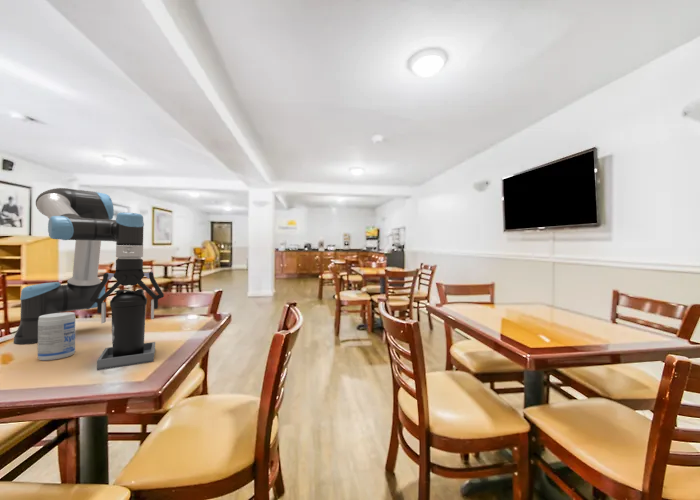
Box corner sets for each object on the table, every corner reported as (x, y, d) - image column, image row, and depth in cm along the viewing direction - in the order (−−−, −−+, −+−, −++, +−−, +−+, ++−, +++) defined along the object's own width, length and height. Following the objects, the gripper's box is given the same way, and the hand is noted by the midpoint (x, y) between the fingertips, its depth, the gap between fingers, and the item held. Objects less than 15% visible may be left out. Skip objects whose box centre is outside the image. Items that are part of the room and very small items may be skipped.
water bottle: (114, 354, 106) (115, 288, 107) (149, 351, 110) (149, 287, 111) (105, 364, 97) (105, 292, 97) (143, 360, 101) (143, 290, 101)
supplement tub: (72, 358, 105) (72, 315, 105) (33, 363, 100) (33, 318, 100) (77, 350, 113) (78, 310, 113) (42, 355, 108) (42, 313, 108)
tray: (105, 356, 106) (105, 347, 106) (155, 349, 114) (155, 341, 114) (96, 370, 94) (97, 360, 94) (153, 361, 101) (153, 352, 101)
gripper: (79, 258, 95) (78, 326, 95) (171, 258, 107) (171, 318, 107) (84, 258, 101) (83, 322, 101) (171, 257, 114) (171, 314, 114)
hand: (128, 320), depth 104 cm, fingers open, 13 cm apart
